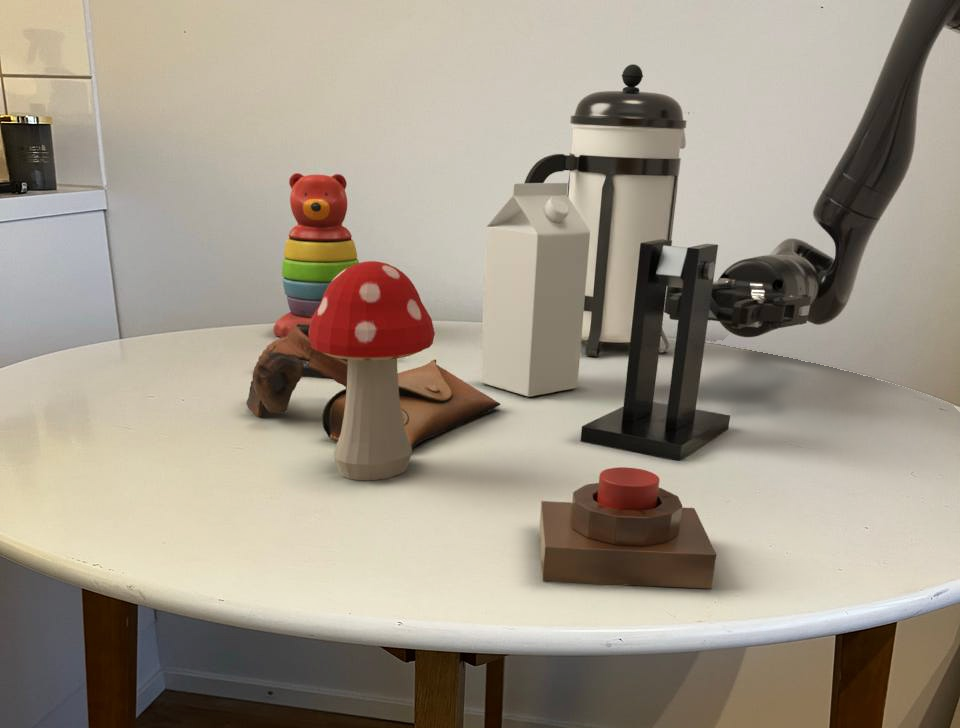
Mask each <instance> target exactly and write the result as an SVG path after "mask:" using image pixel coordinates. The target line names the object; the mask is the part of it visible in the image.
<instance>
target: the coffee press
mask: <svg viewBox="0 0 960 728" xmlns="http://www.w3.org/2000/svg"><path fill="white" fill-rule="evenodd" d="M643 77H644V75H643V70H642V68H641V67H640V66H639V65H638V64H633V63H632V64H628V65H627V66H625V68H624V69H623V71H622V74H621V78H622V83H623V84H624V85H625V87H623V88H622V90H605V91H596V92H593V93H590V94H588V95H586V96H584V97H583V98H581V100H580V101H579V102H578V104H577V105H576V108H575V111H574V114H573V115H570V121H569V123H570V127H571V128H572V141H571V152H569V155H568V154H567V155H566V154H564V153H556V154H555V153H554V154H551V155H547V156H545V157H543V158H541V159H540V160H538V161H536V163H535V164H534V165H533V166H532V167H531V169H530V170H529V172H528V173H527V175H526V178H525V180H524V183H545V181H546V180H547V179H548V177H550V176H551V175H553V174H554V173H561V172H565V171H569V175H568V182H567V183H568V186H567V196H568V198H569V199H570V201H571V202H572V204H573V205H574V207H575V208H576V210H577V211H578V213H579V215H580V216H581V218H582V219H583V221H584V222H585V224H586V225H587V227H588V229H589V230H590V241H589V253H588V265H587V277H586V289H585V301H584V313H583V325H582V337H581V340H586V341H587V342H586V346H585V356H586V357H588V356H589V357H595V358H598V357H599V356H600V354H601V349H602V346H603V345H604V344H605V343H630V339H631V329H632V320H633V310H634V301H635V291H636V281H637V272H638V262H639V252H640V243H643V242H649V241H654V240H660V239H665V240H672V239H673V231H674V230H673V229H674V221H675V213H676V212H675V211H676V204H677V197H678V196H677V195H678V185H679V176H680V170H681V169H680V168H681V162H682V161H681V160H682V157H680V151H681V149H682V150H684V149H685V148H686V146H687V145H686V144H687V141H686V133H685V129H686V128H687V122H688V121H687V120H685V119H684V114H683V113H684V112H683V109H682V106H681V105H680V103H679V102H678V101H677V100H676V99H675V98H673V97H672V96H669V95H666V94H664V93H663V94H662V93H657V92H647V91H640V88H639V87H637V86H639V84H640V83H641V82H642V80H643ZM661 340H662V341H663V342H664V344H665V349H661V348H659V354H663V353H665V352H667V351H668V349H669V348H670V342H669V339H668V338H667V336H666V334H665V331H664V328H662V331H661Z"/></svg>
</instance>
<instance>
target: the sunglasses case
mask: <svg viewBox="0 0 960 728" xmlns="http://www.w3.org/2000/svg"><path fill="white" fill-rule="evenodd" d="M398 387H399V399H400V406H401V413H402V419H403V424H404V429H405V432H406V435H407V437H408V440H409V442H410V445H411V448H412V449H413V448H414V447H415V446H417V445H418V444H420V443H422V442H424V441H426V440H429V439H430V438H433V437H435V436H438V435H439V434H442V433H444V432H446V431H449V430H451V429H454V428H456V427H460V426H462V425H464V424H467V423H469V422H471V421H473V420H475V419H477V418H479V417H481V416H483V415H485V414H486V413H487V414H488V412H490V411H493V410H494V409H496V408H498V407H499V406H501V403H500V402H499V401H496V400H495V399H493V398H492V397H490V396H489V395H487V394H486V393H483V392H482V391H480V390H478V389H477V388H475V387H474V386H472V385H471V384H470V383H467V382H466V381H464V380H463V379H461V378H460V377H458V376H456V375H455V374H452V373H451V372H450V371H448V370H447V369H445V368H443V367H442V366H440V365H439V364H437V359H432V360H430V362H427V363H426V364H423V365H421V366H418V367H414V368H411V369H408V370H404V371H401V372H398ZM346 391H347V389H346V388H344V389H342V390H340V391H338V392H336V393H335V394H334V395H333V396H332V397H331V398H330V399H329V400H328V402H326V404H325V406H324V408H323V411H322V417H321V419H322V427H323V430H324V432H325V433H326V435H327V437H328V438H329V439H330V440H332V441H334V442H338V440H339V437H340V434H341V429H342V424H343V418H344V411H345V403H346Z"/></svg>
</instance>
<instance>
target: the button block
mask: <svg viewBox="0 0 960 728" xmlns="http://www.w3.org/2000/svg"><path fill="white" fill-rule="evenodd" d="M598 486H599V482H594V483H587V484H585V485H583V486H581V487H579V488H578V489H575V490H574V491H573V492H572V500H571V502H568V501H548V500H542V501H541V502H540V515H539V529H538V535H539V546H540V547H539V548H540V549H539V550H540V561H541V578H542V581H543V582H553V583H554V582H555V583H575V584H577V583H578V584H595V585H596V584H598V585H599V584H600V585H617V586H619V585H621V586H638V587H639V586H640V587H641V586H642V587H660V588H661V587H664V588H666V587H667V588H685V589H704V590H705V589H709V590H711V589H712V588H713V581H714V576H715V575H714V574H715V568H716V561H717V553H716V551H715V549H714V546H713V544H712V542H711V540H710V538H709V536H708V534H707V532H706V530H705V528H704V525H703V523H702V521H701V519H700V516H699V515H698V513H697V511H696V509H695V507H683V504H682V502H681V500H680V497H679V496H678V495H677V494H674V493H672V492H671V491H668V490H666V489H664V488H662V487H659V489H658V497H657V505H656V507H655V508H654V509H648V510H642V511H633V510H619V509H614V508H610V507H606V506H603V505H601V504H600V503H598V502H597V497H598Z"/></svg>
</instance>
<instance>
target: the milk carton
mask: <svg viewBox="0 0 960 728" xmlns="http://www.w3.org/2000/svg"><path fill="white" fill-rule="evenodd" d="M567 195H568V182H544V183H523V182H522V183H520V182H519V183H517V182H516V183H515V182H514V183H513V184H512V196H511V197H510V199H509V200H508V201H507V202H506V203H505V204H504V205H503V206H502V208H501V209H500V210H499V211H498V212H497V214H496V215H495V216H494V217H493V218H492V219H491V221H489V222H488V224H487V225H486V231H485V251H484V253H485V255H484V278H483V279H484V280H483V281H484V282H483V306H482V328H481V329H482V331H481V354H480V357H481V358H480V383H481V384H485V385H487V386H491V387H495V388H497V389H500V390H503V391H504V390H505V391H508V392H510V393H515V394H517V395H521V396H525V397H529V398H530V397H535V396H540V395H546V394H551V393H555V392H562V391H567V390H573V389H576V388H578V383H579V373H580V360H581V347H582V339H581V337H582V325H583V313H584V301H585V289H586V277H587V265H588V253H589V241H590V230H589V229H588V227H587V225H586V224H585V222H584V221H583V219H582V218H581V216H580V215H579V213H578V211H577V210H576V208H575V207H574V205H573V204H572V202H571V201H570V199H569V198H568V196H567Z"/></svg>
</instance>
